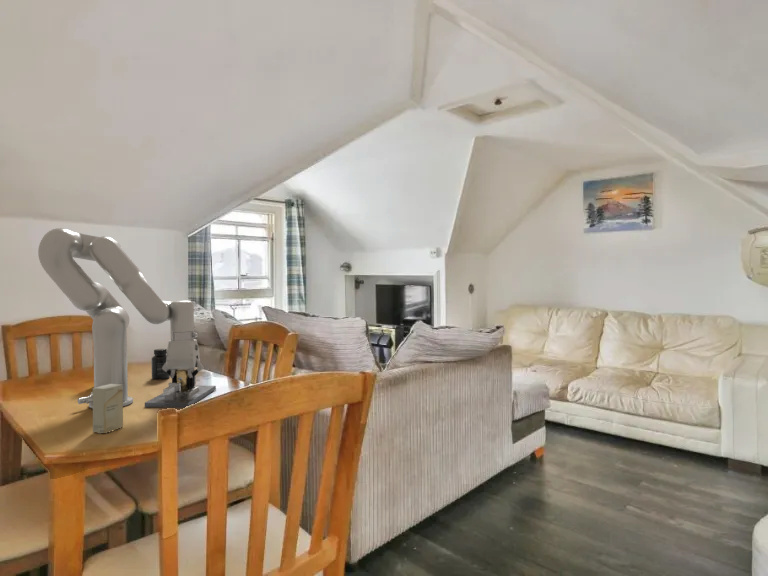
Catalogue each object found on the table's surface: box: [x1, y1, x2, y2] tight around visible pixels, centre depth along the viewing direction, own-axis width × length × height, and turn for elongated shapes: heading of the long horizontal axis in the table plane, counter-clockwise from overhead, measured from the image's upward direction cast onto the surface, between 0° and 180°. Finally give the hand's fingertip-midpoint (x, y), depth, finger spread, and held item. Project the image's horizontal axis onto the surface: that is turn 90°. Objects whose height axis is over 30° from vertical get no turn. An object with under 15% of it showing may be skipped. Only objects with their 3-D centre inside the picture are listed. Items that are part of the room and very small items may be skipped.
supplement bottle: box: [150, 348, 171, 380], centre depth 195 cm, size 7×7×12 cm
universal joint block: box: [176, 369, 189, 392], centre depth 164 cm, size 6×4×7 cm
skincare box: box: [92, 384, 124, 434], centre depth 129 cm, size 6×4×12 cm
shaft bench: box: [144, 375, 217, 409], centre depth 164 cm, size 24×14×6 cm, turn 179°
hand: (183, 388), depth 164 cm, fingers closed on universal joint block, 4 cm apart
